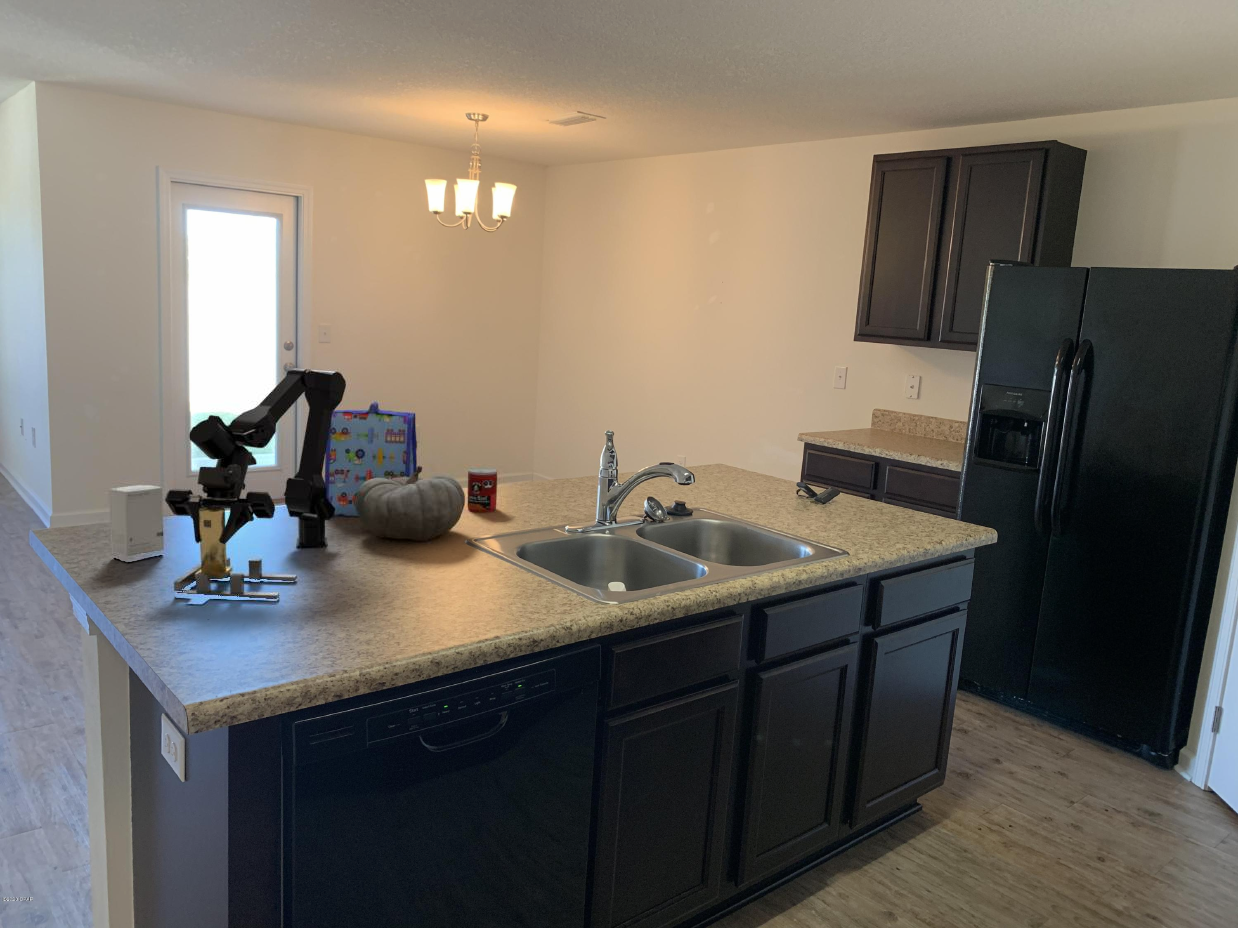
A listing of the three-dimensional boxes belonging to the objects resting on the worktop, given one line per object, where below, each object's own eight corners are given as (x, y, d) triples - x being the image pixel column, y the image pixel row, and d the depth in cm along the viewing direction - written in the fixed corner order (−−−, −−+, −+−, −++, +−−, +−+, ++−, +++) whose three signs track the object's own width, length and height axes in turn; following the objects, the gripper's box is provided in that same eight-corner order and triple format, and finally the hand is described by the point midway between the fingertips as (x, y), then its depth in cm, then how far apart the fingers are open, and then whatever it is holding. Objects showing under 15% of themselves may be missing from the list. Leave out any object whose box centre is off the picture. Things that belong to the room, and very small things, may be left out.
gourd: (457, 541, 199) (447, 464, 198) (347, 554, 200) (336, 478, 199) (476, 526, 224) (467, 457, 223) (378, 537, 225) (368, 469, 223)
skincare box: (127, 564, 180) (124, 492, 178) (110, 558, 183) (106, 488, 181) (166, 555, 188) (163, 486, 185) (148, 550, 191) (145, 482, 188)
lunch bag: (417, 507, 241) (419, 401, 236) (407, 519, 228) (408, 407, 222) (336, 504, 240) (336, 397, 235) (321, 516, 227) (320, 403, 222)
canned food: (462, 510, 240) (463, 470, 238) (475, 505, 247) (476, 466, 245) (488, 514, 238) (489, 473, 236) (500, 508, 245) (501, 468, 243)
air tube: (205, 569, 170) (203, 506, 168) (232, 570, 171) (230, 507, 168) (195, 578, 165) (192, 512, 163) (222, 578, 166) (220, 513, 164)
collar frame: (200, 577, 174) (199, 555, 173) (297, 580, 175) (296, 558, 175) (165, 604, 159) (164, 580, 158) (271, 607, 160) (270, 583, 159)
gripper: (167, 447, 167) (142, 518, 158) (268, 450, 168) (249, 521, 159) (186, 479, 176) (164, 549, 167) (282, 483, 177) (265, 552, 169)
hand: (210, 542), depth 166 cm, fingers closed on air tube, 4 cm apart
